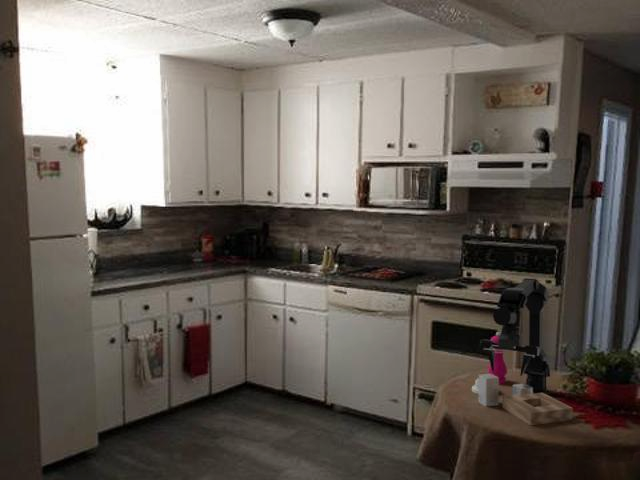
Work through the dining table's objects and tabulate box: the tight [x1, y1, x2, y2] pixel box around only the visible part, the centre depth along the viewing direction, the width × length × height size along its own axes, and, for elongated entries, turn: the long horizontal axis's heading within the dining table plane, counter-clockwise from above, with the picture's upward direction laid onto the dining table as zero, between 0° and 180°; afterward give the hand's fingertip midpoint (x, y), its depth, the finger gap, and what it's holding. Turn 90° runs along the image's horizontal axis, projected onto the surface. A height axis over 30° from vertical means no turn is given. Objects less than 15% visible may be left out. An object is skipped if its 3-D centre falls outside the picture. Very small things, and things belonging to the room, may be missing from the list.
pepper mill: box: [487, 331, 508, 385], centre depth 240 cm, size 7×7×20 cm
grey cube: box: [511, 383, 534, 396], centre depth 220 cm, size 5×5×5 cm
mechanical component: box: [471, 378, 479, 395], centre depth 229 cm, size 10×4×10 cm
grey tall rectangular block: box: [478, 373, 500, 407], centre depth 216 cm, size 5×5×10 cm
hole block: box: [502, 392, 574, 426], centre depth 205 cm, size 16×16×4 cm
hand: (506, 373), depth 201 cm, fingers open, 9 cm apart
